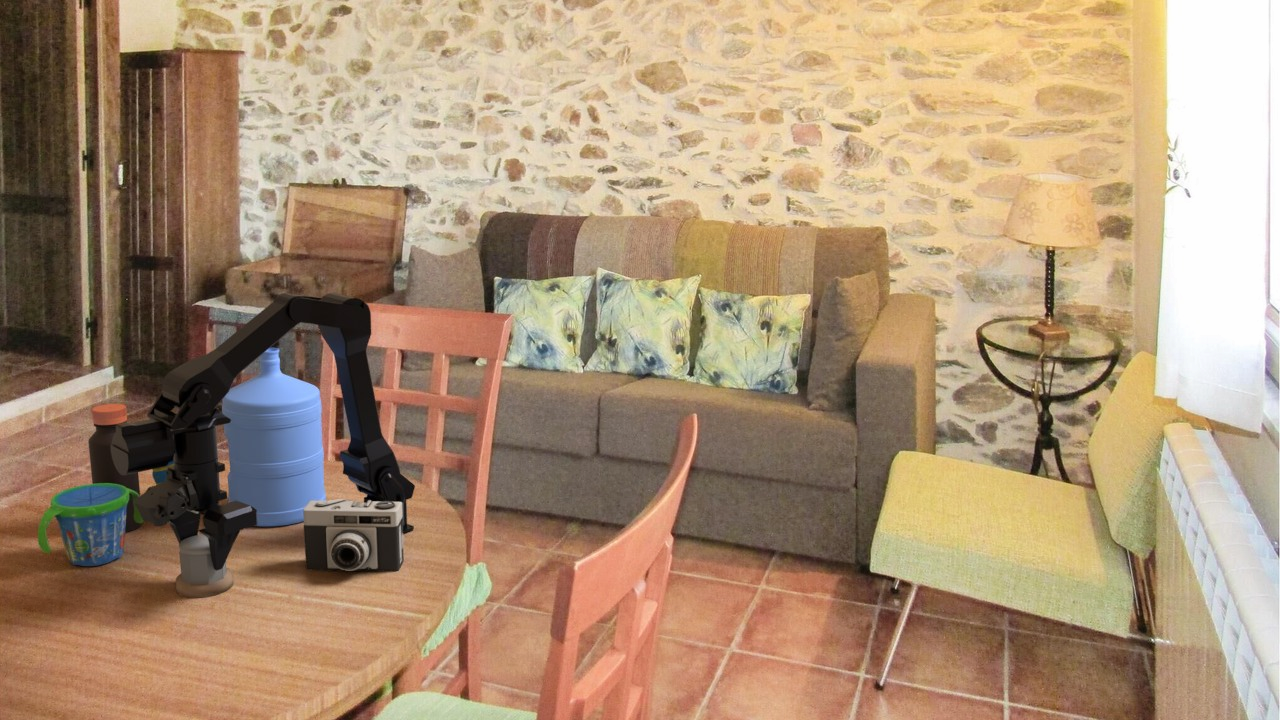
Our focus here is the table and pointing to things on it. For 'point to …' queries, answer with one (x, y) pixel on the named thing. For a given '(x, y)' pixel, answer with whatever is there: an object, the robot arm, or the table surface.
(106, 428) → the bottle
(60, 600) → the table surface
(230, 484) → the water jug
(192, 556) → the cap
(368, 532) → the camera
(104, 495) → the snack cup
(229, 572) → the stub
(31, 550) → the table surface
